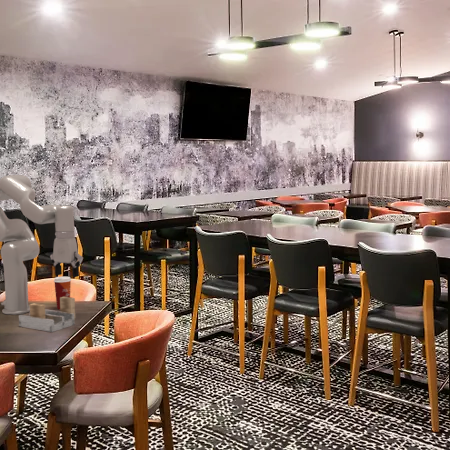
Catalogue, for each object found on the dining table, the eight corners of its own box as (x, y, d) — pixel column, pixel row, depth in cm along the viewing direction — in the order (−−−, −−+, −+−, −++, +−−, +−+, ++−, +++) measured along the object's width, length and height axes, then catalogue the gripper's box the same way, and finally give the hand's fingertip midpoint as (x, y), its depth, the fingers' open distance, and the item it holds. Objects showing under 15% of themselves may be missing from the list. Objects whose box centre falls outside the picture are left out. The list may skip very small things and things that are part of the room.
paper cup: (67, 310, 267) (66, 279, 265) (51, 309, 268) (50, 279, 267) (75, 306, 275) (74, 276, 273) (59, 305, 276) (58, 275, 275)
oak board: (30, 326, 241) (29, 304, 241) (35, 324, 244) (34, 303, 243) (41, 328, 239) (40, 306, 238) (45, 326, 241) (45, 304, 240)
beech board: (60, 318, 253) (59, 297, 252) (64, 317, 255) (64, 296, 255) (71, 320, 250) (70, 299, 250) (75, 318, 253) (74, 298, 252)
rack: (19, 326, 241) (18, 315, 241) (42, 319, 252) (41, 308, 252) (52, 332, 233) (51, 320, 232) (74, 324, 244) (74, 313, 243)
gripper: (43, 235, 250) (45, 276, 252) (74, 237, 242) (76, 278, 243) (56, 233, 257) (58, 273, 258) (87, 235, 248) (89, 275, 250)
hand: (67, 275), depth 251 cm, fingers open, 9 cm apart
